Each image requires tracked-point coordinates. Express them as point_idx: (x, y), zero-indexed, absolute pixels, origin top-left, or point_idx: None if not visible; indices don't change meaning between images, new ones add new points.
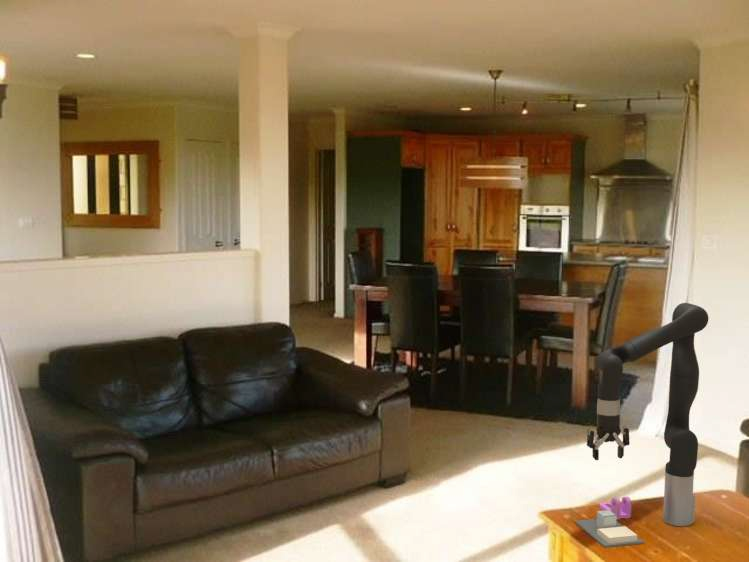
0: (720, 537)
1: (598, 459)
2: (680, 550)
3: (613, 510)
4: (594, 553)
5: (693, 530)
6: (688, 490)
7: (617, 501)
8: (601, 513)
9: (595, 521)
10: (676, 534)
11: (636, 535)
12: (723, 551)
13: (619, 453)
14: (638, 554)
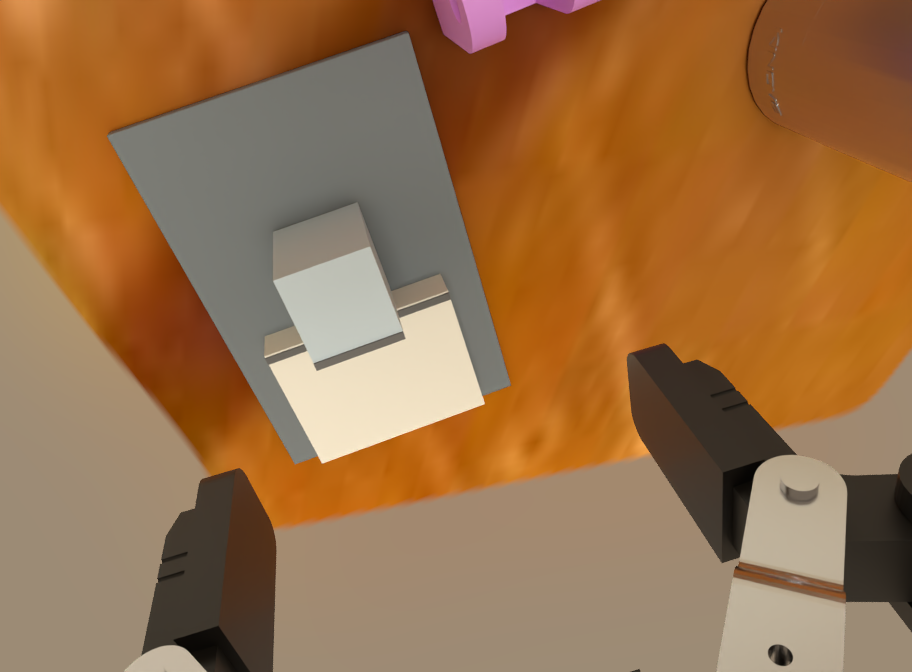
0: (906, 247)
1: (274, 549)
2: None
3: None
4: None
5: (836, 173)
6: None
7: (481, 42)
8: (301, 318)
9: (273, 133)
10: (719, 241)
11: (479, 405)
12: (817, 391)
13: (665, 450)
14: (444, 488)
